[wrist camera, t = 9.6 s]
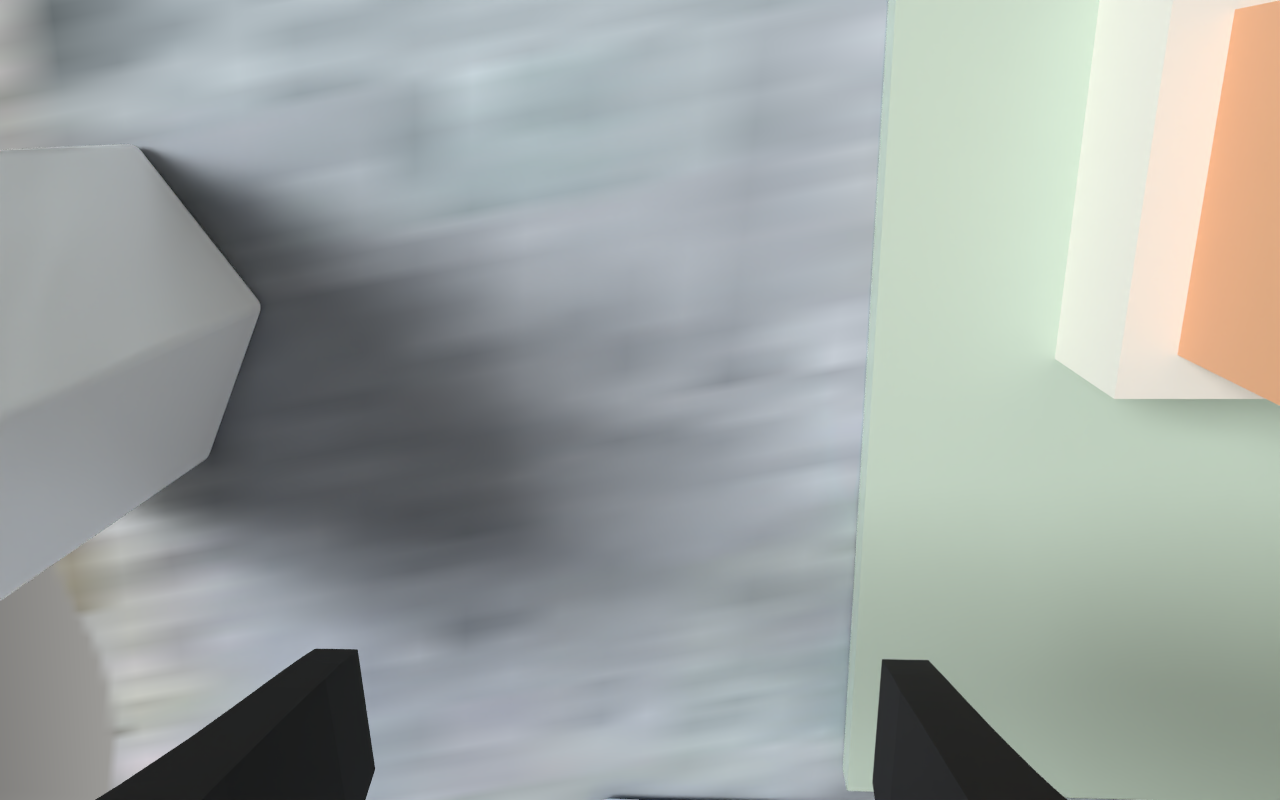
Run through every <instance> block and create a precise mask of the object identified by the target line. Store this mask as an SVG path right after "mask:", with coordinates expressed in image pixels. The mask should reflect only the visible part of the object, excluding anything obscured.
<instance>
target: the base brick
mask: <svg viewBox="0 0 1280 800" xmlns="http://www.w3.org/2000/svg"><path fill="white" fill-rule="evenodd" d="M1274 1H1279V0H1099V8H1098V16H1097V24H1096V32H1095V40H1094V48H1093V56H1092V64H1091V72H1090V80H1089V88H1088V96H1087V104H1086V112H1085V120H1084V128H1083V136H1082V144H1081V152H1080V160H1079V168H1078V176H1077V184H1076V192H1075V200H1074V208H1073V216H1072V224H1071V232H1070V240H1069V248H1068V256H1067V264H1066V272H1065V280H1064V288H1063V296H1062V304H1061V313H1060V320H1059V329H1058V337H1057V345H1056V353H1055V359H1056V360H1057V361H1059V362H1060V363H1062V364H1063V365H1065V366H1066V367H1068V368H1069V369H1071V370H1072V371H1074V372H1075V373H1077V374H1078V375H1079V376H1081V377H1082V378H1084V379H1085V380H1087V381H1088V382H1090V383H1091V384H1093V385H1094V386H1096V387H1097V388H1099V389H1100V390H1102V391H1103V392H1105V393H1106V394H1107V395H1109V396H1110V397H1112V398H1113V399H1265V398H1263V397H1261V396H1259V395H1257V394H1255V393H1253V392H1251V391H1249V390H1247V389H1245V388H1243V387H1241V386H1239V385H1237V384H1235V383H1233V382H1231V381H1229V380H1227V379H1225V378H1223V377H1221V376H1219V375H1217V374H1215V373H1213V372H1211V371H1209V370H1207V369H1205V368H1203V367H1201V366H1198V365H1196V364H1194V363H1192V362H1190V361H1188V360H1186V359H1184V358H1182V357H1180V356H1178V355H1177V354H1178V348H1179V342H1180V336H1181V330H1182V324H1183V318H1184V312H1185V306H1186V300H1187V294H1188V288H1189V282H1190V276H1191V270H1192V264H1193V258H1194V252H1195V246H1196V240H1197V234H1198V228H1199V222H1200V216H1201V210H1202V204H1203V198H1204V192H1205V186H1206V180H1207V174H1208V168H1209V162H1210V156H1211V150H1212V144H1213V138H1214V132H1215V126H1216V120H1217V114H1218V108H1219V102H1220V96H1221V90H1222V84H1223V78H1224V72H1225V66H1226V60H1227V54H1228V48H1229V42H1230V36H1231V30H1232V24H1233V18H1234V12H1235V9H1240V8H1245V7H1250V6H1255V5H1260V4H1264V3H1269V2H1274Z"/></svg>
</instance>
